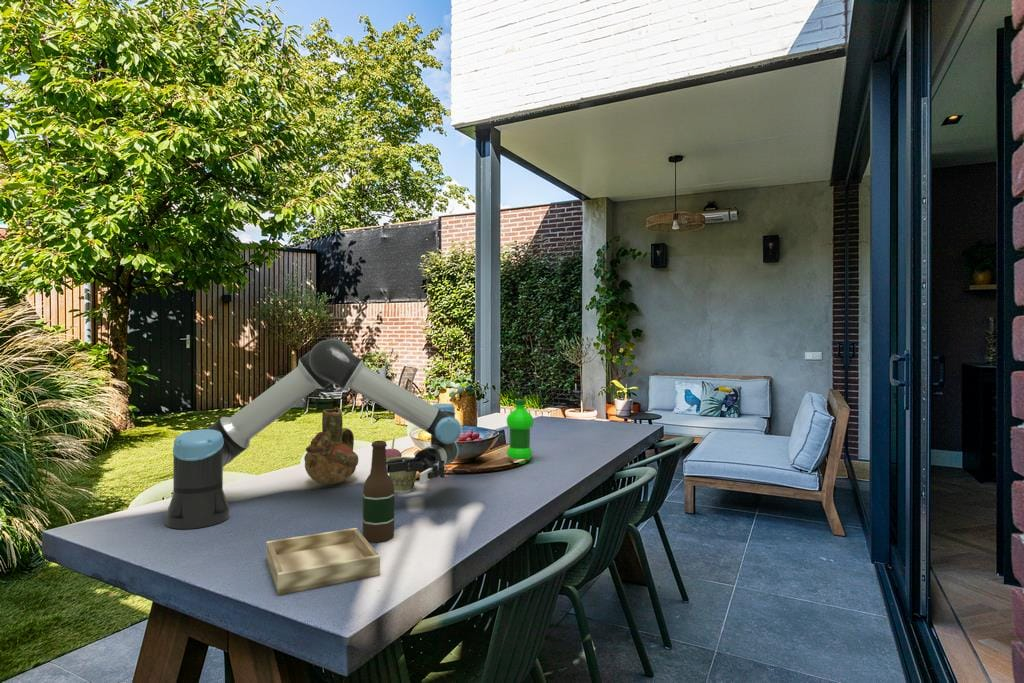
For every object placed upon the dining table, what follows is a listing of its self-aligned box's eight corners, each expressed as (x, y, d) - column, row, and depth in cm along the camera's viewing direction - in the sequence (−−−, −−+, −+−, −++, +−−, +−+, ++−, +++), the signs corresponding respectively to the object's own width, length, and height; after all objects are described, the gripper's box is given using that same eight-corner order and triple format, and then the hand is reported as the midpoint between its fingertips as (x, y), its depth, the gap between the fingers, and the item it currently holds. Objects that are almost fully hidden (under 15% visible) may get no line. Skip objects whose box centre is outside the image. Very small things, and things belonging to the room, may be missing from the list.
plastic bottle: (537, 463, 226) (538, 400, 226) (514, 466, 220) (515, 402, 220) (523, 458, 235) (524, 398, 234) (501, 461, 229) (502, 399, 229)
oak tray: (278, 595, 111) (278, 574, 111) (266, 559, 128) (266, 541, 128) (379, 575, 120) (380, 556, 120) (356, 544, 138) (356, 527, 138)
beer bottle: (396, 532, 146) (397, 438, 146) (391, 543, 139) (392, 444, 138) (366, 532, 146) (366, 438, 146) (358, 543, 138) (359, 444, 138)
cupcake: (406, 467, 218) (406, 435, 218) (390, 471, 211) (390, 438, 211) (389, 464, 222) (390, 433, 222) (373, 468, 215) (373, 436, 215)
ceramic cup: (381, 493, 181) (381, 462, 181) (395, 485, 191) (395, 455, 191) (419, 497, 178) (419, 465, 178) (431, 488, 188) (431, 458, 188)
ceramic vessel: (284, 492, 181) (285, 413, 181) (325, 473, 206) (326, 404, 206) (335, 496, 178) (335, 416, 178) (370, 476, 203) (370, 405, 203)
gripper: (469, 475, 169) (441, 494, 148) (392, 469, 176) (355, 487, 155) (469, 450, 169) (441, 465, 148) (392, 445, 175) (355, 459, 155)
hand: (397, 476), depth 152 cm, fingers open, 13 cm apart
